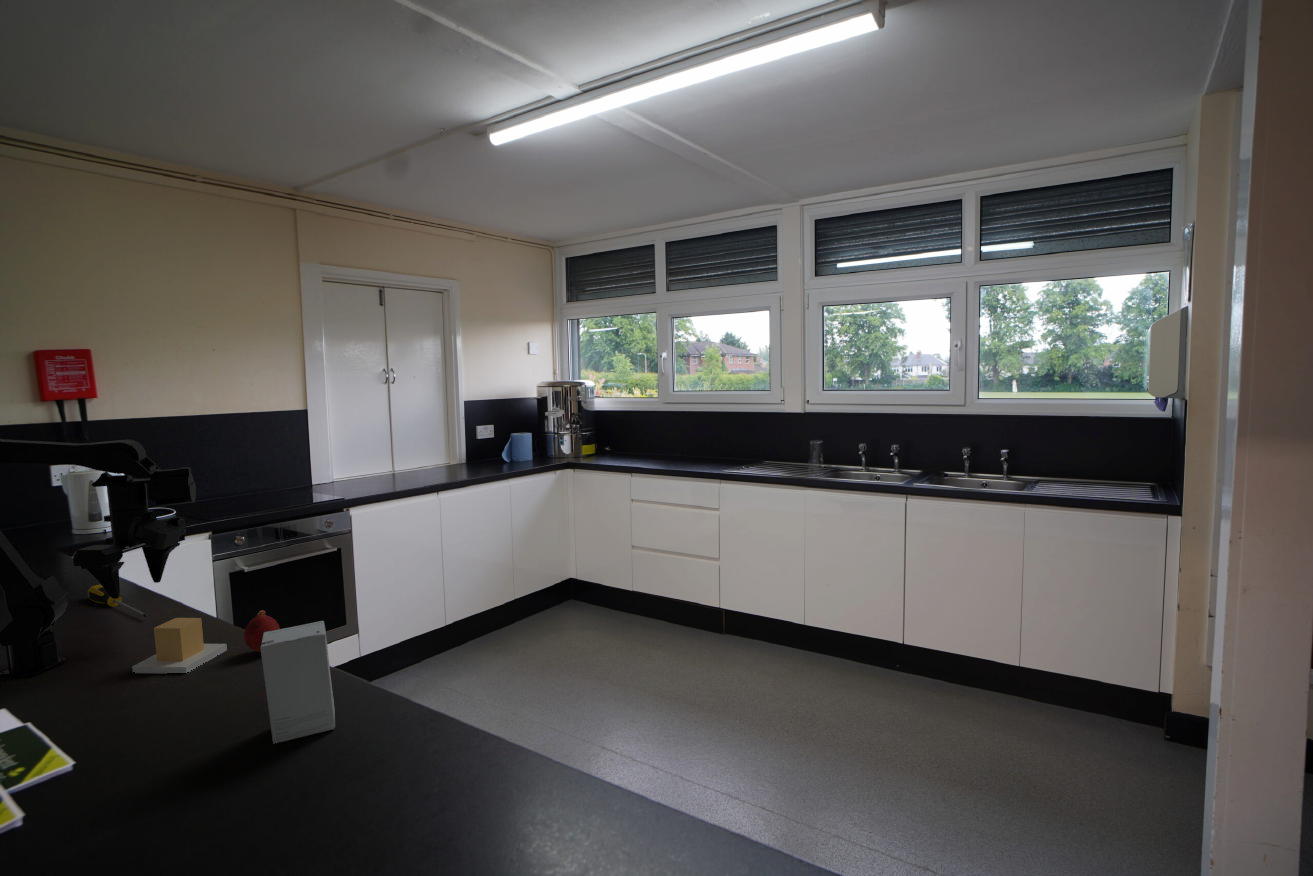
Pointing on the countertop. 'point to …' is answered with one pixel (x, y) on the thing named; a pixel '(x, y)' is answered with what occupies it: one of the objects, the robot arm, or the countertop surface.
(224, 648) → the post plate
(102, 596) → the screwdriver
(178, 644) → the cardboard carton
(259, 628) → the onion
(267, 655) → the skincare box
